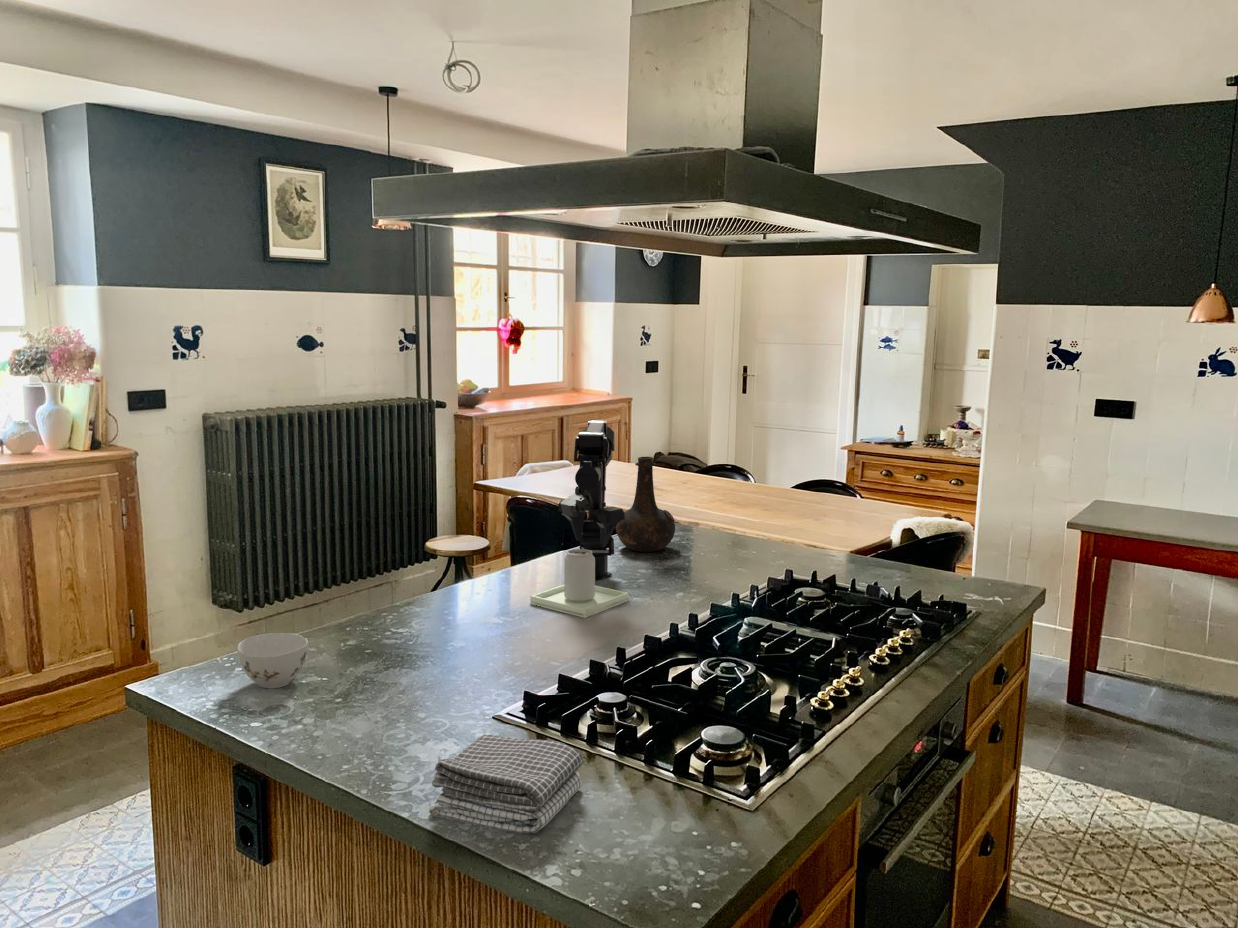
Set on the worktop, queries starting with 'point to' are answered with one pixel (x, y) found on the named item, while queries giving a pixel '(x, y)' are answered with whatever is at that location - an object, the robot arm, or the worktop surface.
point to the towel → (507, 783)
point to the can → (579, 575)
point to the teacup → (273, 658)
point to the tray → (598, 603)
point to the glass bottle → (646, 515)
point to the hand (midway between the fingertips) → (590, 543)
